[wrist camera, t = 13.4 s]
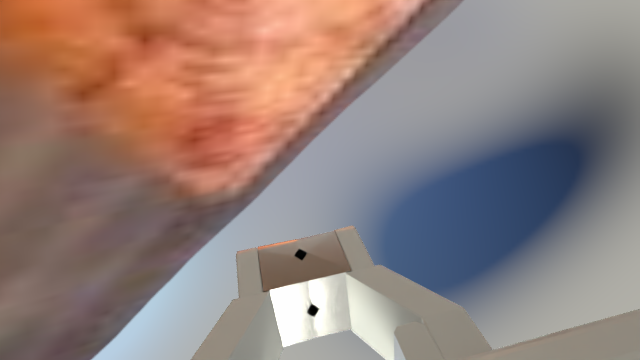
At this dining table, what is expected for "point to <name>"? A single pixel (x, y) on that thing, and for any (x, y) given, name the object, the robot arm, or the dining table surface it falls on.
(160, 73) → the dining table surface
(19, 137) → the dining table surface
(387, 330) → the robot arm
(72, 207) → the dining table surface
